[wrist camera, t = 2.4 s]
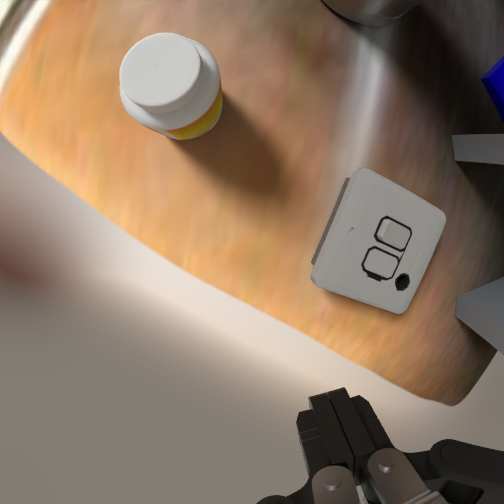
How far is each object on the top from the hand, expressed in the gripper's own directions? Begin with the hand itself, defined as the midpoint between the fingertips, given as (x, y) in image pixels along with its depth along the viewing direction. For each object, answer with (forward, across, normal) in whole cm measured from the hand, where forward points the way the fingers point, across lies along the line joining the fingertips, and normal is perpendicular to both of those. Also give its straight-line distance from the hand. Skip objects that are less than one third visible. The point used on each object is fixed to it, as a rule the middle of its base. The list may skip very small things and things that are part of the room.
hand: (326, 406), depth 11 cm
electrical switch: (+16, -12, 0) cm, 20 cm away
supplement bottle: (+15, +4, -15) cm, 22 cm away
